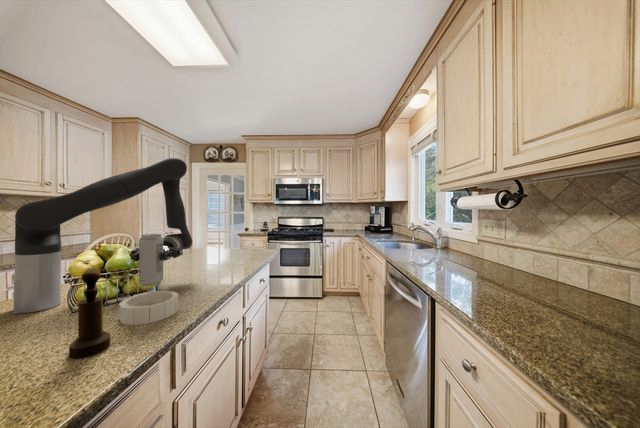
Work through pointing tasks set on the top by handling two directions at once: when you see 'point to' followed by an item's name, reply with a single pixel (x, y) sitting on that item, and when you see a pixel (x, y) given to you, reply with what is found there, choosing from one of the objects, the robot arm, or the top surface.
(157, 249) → the energy drink can
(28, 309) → the robot arm
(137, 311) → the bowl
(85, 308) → the dark brown wooden stand
